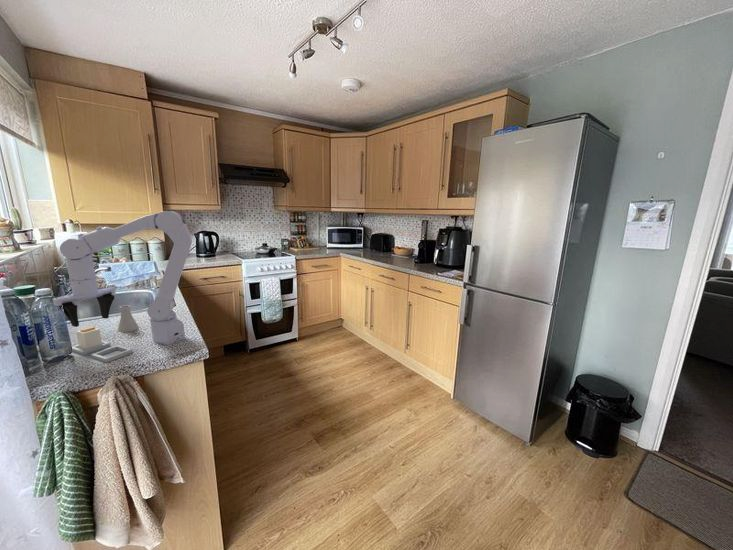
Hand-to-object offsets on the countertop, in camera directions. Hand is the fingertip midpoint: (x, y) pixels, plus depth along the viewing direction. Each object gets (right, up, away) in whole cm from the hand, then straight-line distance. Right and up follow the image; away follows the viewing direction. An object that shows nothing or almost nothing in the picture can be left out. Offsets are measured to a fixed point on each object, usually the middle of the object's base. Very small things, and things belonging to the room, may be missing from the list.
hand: (91, 321), depth 94 cm
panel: (+4, -10, -1) cm, 11 cm away
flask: (-2, -7, +17) cm, 18 cm away
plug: (-1, -8, +1) cm, 8 cm away
